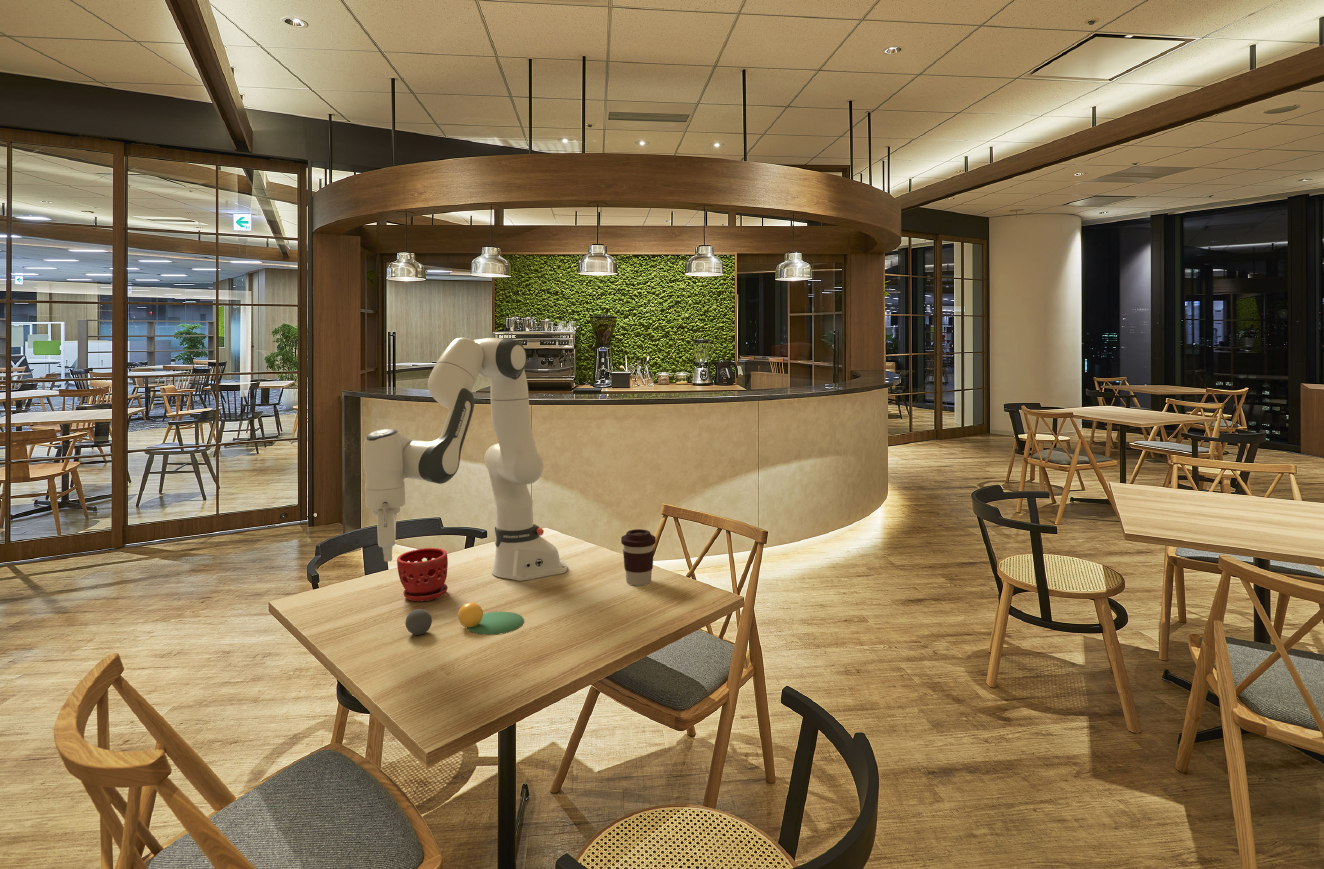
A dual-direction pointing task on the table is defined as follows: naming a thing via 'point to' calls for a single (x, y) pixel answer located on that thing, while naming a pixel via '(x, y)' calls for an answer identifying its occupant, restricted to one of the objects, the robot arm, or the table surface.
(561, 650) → the table surface
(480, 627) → the green mark
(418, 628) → the dark grey sphere
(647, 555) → the coffee cup
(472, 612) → the orange ball
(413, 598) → the plant pot
